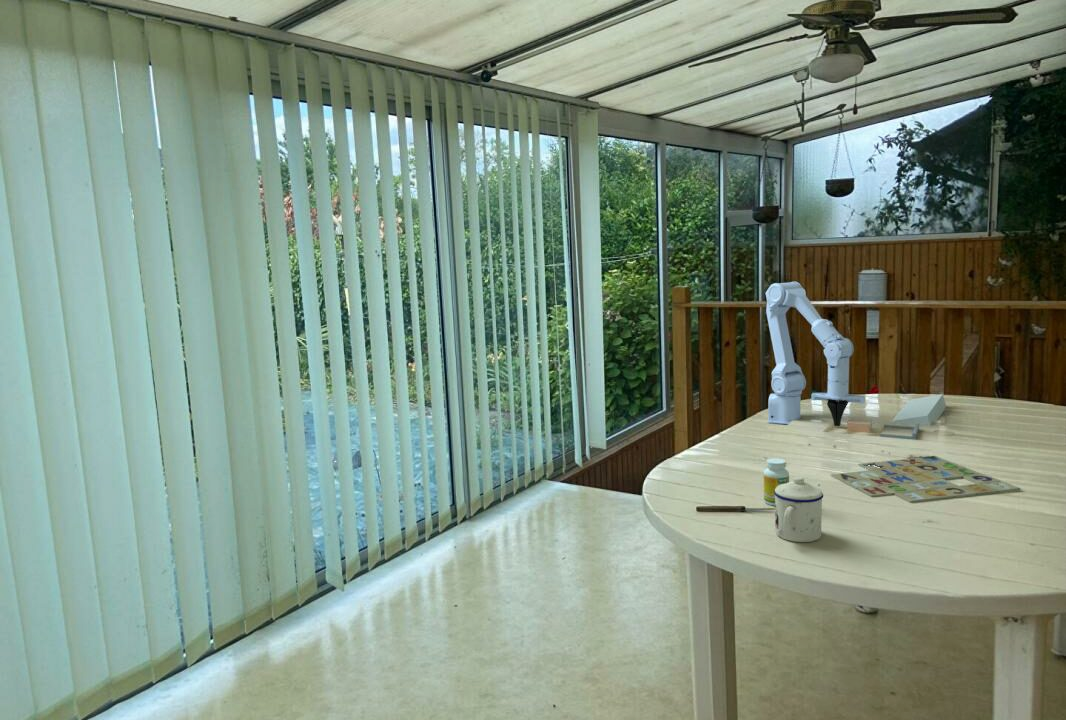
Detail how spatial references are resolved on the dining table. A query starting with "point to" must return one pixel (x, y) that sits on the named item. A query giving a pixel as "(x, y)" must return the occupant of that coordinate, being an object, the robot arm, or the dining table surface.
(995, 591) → the dining table surface
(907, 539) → the dining table surface
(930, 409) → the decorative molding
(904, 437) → the tray
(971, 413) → the dining table surface
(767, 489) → the supplement bottle
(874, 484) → the alphabet tiles
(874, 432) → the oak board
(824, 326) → the robot arm
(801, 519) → the teacup with lid
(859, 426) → the tile
